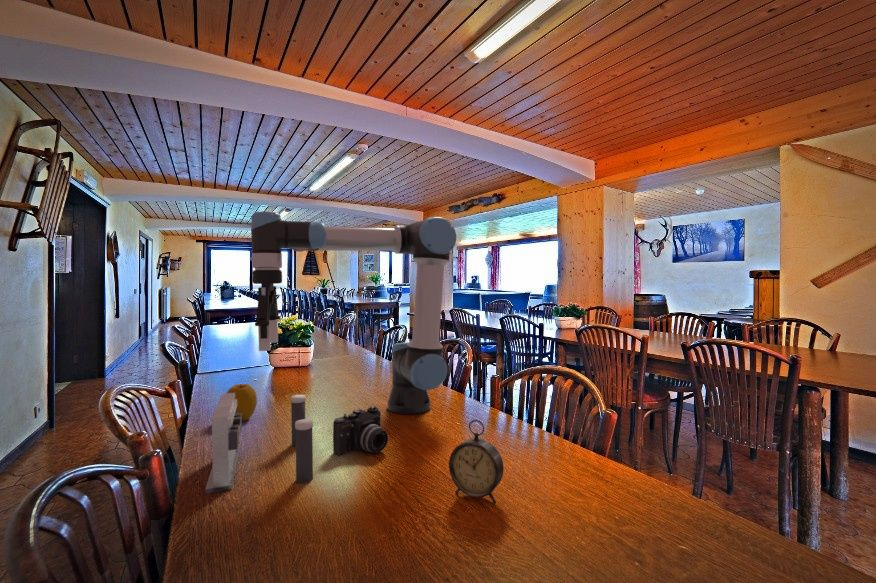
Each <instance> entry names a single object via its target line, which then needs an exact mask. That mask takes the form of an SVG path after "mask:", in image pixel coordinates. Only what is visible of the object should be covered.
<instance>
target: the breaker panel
mask: <svg viewBox="0 0 876 583" xmlns="http://www.w3.org/2000/svg"><path fill="white" fill-rule="evenodd" d="M236 408H237V399H235V393H227V392H226V393H221V394H220V398H219V401H218V403H217V404H216V407H215V410H214V412H213V414H212V417H211V436H212V441H211V442H212V444H211V445H212V467H211V470H210V473H209V475H208V479H207V483H206V485H205V490H204V492H205V493H204V494H205V495H208V494H213V493H219V492H225V491H231V490H232V489H233V483H234V478H235V473H236V467H237V461H238V457H239V445H240V443H241V433H242V430H243V429H242V427H243V425H242V422H243V421H242V418H241V413H235V412H236Z"/></svg>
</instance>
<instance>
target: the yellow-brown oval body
mask: <svg viewBox="0 0 876 583" xmlns="http://www.w3.org/2000/svg"><path fill="white" fill-rule="evenodd" d="M256 392H257V391H255V389H254V387H252V386H251V385H250V384H248V383H244V384H243V383H242V384H241V383H240V384H239V383H238V384H237V383H236V384H233V385H232V386H231V387H230V388H228V390H227V392H226V393H235V399H237V408H236V412H235V413H241V418H242V422H243V421H247V420H249V419H250V418H251V417H252V416H253V414H254V413H255V410H256V407H257V403H258V399H257V397H258V396H257V393H256Z"/></svg>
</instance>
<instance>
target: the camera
mask: <svg viewBox="0 0 876 583" xmlns="http://www.w3.org/2000/svg"><path fill="white" fill-rule="evenodd" d="M381 416H382V415H381V411H380V410H379V408H378V407H377V406H374V405H373V406H372V405H371V406H370V407H368V408H367V410H365V409H363V408H358V409H356V410H355V409H354V410H352V413H349V414H348V415H347V413H345V412H344V413H343V416H341V417H337V418H335V419H334V420H333V423H332V424H333V425H332V427H333V428H332V431H333V432H332V439H333V440H332V442H333V443H332V447H333V449H332V450H333V454H334V456H336V457H341V456H344V455H347V454H349V453H351V452H352V453H353V452H355V451H357V450H361V449H363V451H366V452H370V453H374V454H375V453H376V454H377V453H379V452H381V451H383V450H384V449H385V448H386V446H387V445H388V441H389V436H388V433H387V431H386V430H385V429H384V428H383V427H381V420H382V419H381V418H382V417H381Z"/></svg>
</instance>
